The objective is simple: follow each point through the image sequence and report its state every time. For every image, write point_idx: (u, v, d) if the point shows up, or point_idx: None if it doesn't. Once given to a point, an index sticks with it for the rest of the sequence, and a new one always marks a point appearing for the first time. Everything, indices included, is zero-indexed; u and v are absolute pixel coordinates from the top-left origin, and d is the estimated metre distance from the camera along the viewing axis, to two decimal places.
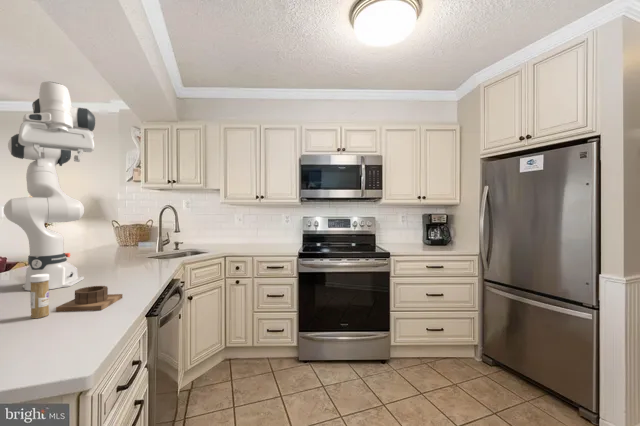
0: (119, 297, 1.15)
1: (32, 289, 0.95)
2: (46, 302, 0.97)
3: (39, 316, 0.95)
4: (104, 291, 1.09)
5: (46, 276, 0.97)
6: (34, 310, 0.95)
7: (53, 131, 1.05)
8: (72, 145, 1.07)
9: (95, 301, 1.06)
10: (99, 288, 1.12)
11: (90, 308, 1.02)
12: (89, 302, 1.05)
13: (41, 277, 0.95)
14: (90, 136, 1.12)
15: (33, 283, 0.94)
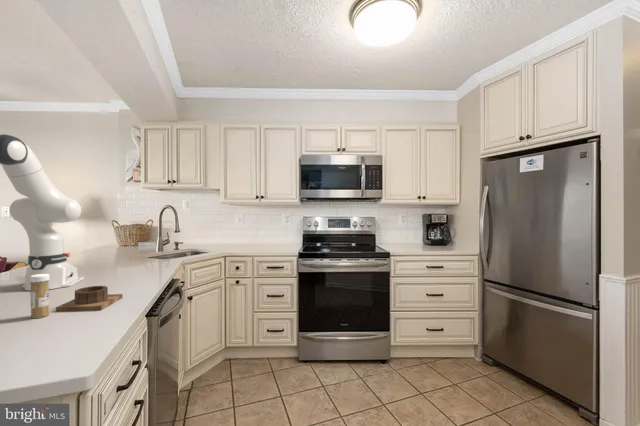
0: (119, 297, 1.15)
1: (32, 289, 0.95)
2: (46, 302, 0.97)
3: (39, 316, 0.95)
4: (104, 291, 1.09)
5: (46, 276, 0.97)
6: (34, 310, 0.95)
7: None
8: None
9: (95, 301, 1.06)
10: (99, 288, 1.12)
11: (90, 308, 1.02)
12: (89, 302, 1.05)
13: (41, 277, 0.95)
14: None
15: (33, 283, 0.94)
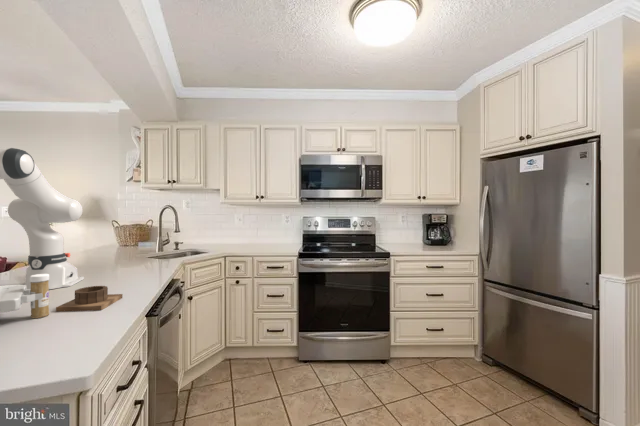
0: (119, 297, 1.15)
1: (32, 289, 0.95)
2: (46, 302, 0.97)
3: (39, 316, 0.95)
4: (104, 291, 1.09)
5: (46, 276, 0.97)
6: (34, 310, 0.95)
7: None
8: None
9: (95, 301, 1.06)
10: (99, 288, 1.12)
11: (90, 308, 1.02)
12: (89, 302, 1.05)
13: (41, 277, 0.95)
14: None
15: (33, 283, 0.94)
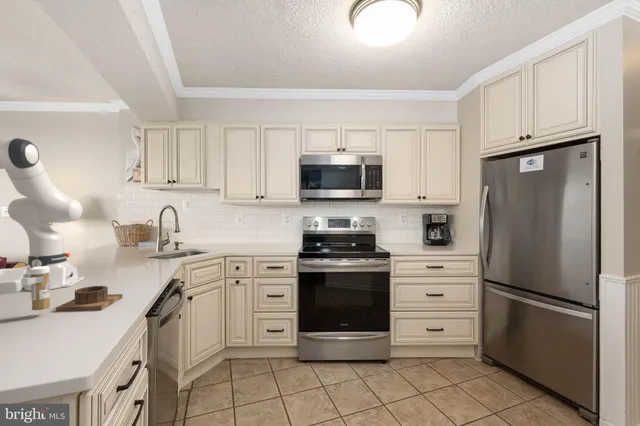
0: (119, 297, 1.15)
1: None
2: (47, 294, 0.97)
3: (40, 308, 0.96)
4: (104, 291, 1.09)
5: (46, 268, 0.97)
6: (35, 302, 0.95)
7: None
8: None
9: (95, 301, 1.06)
10: (99, 288, 1.12)
11: (90, 308, 1.02)
12: (89, 302, 1.05)
13: (41, 269, 0.95)
14: None
15: (33, 275, 0.95)
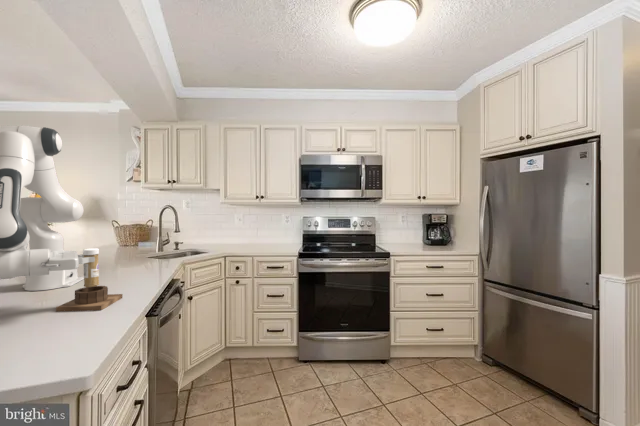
0: (119, 297, 1.15)
1: None
2: (97, 273, 1.09)
3: (91, 285, 1.07)
4: (104, 291, 1.09)
5: (97, 250, 1.08)
6: (88, 279, 1.07)
7: (58, 264, 1.04)
8: None
9: (95, 301, 1.06)
10: (99, 288, 1.12)
11: (90, 308, 1.02)
12: (89, 302, 1.05)
13: (93, 250, 1.07)
14: (58, 270, 0.96)
15: (86, 256, 1.06)
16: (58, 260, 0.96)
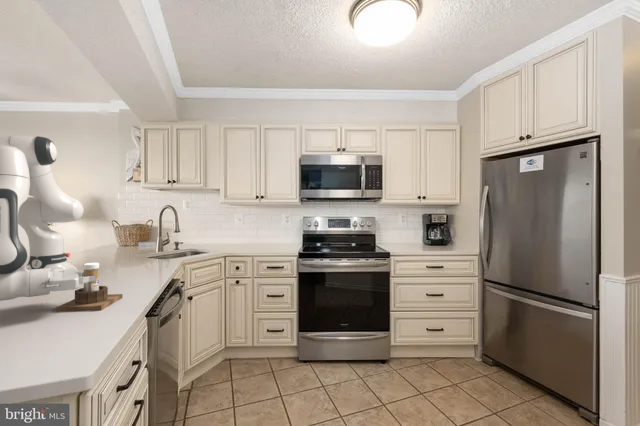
0: (119, 297, 1.15)
1: (85, 276, 1.06)
2: (97, 287, 1.09)
3: None
4: (104, 291, 1.09)
5: (97, 264, 1.08)
6: None
7: None
8: None
9: (95, 301, 1.06)
10: (99, 288, 1.12)
11: (90, 308, 1.02)
12: (89, 302, 1.05)
13: (93, 265, 1.07)
14: (58, 290, 0.96)
15: (86, 270, 1.06)
16: (58, 280, 0.96)
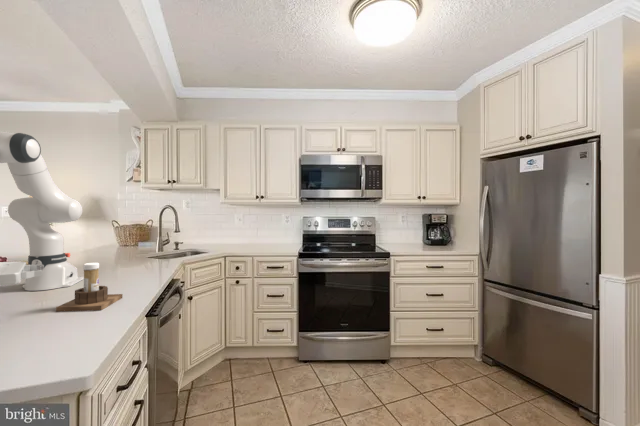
0: (119, 297, 1.15)
1: (85, 276, 1.06)
2: (97, 287, 1.09)
3: None
4: (104, 291, 1.09)
5: (97, 264, 1.08)
6: None
7: None
8: None
9: (95, 301, 1.06)
10: (99, 288, 1.12)
11: (90, 308, 1.02)
12: (89, 302, 1.05)
13: (93, 265, 1.07)
14: None
15: (86, 270, 1.06)
16: None
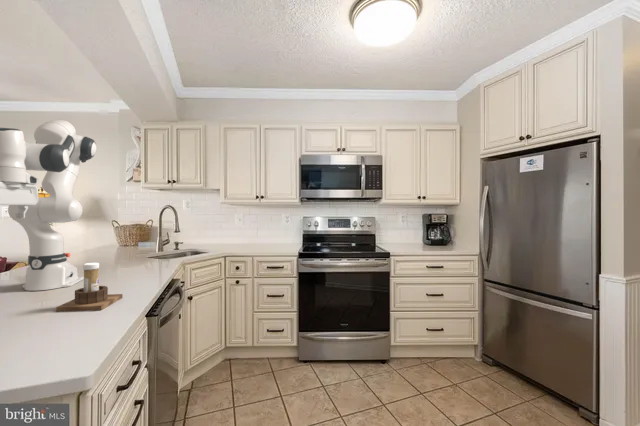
0: (119, 297, 1.15)
1: (85, 276, 1.06)
2: (97, 287, 1.09)
3: None
4: (104, 291, 1.09)
5: (97, 264, 1.08)
6: None
7: None
8: None
9: (95, 301, 1.06)
10: (99, 288, 1.12)
11: (90, 308, 1.02)
12: (89, 302, 1.05)
13: (93, 265, 1.07)
14: None
15: (86, 270, 1.06)
16: None
